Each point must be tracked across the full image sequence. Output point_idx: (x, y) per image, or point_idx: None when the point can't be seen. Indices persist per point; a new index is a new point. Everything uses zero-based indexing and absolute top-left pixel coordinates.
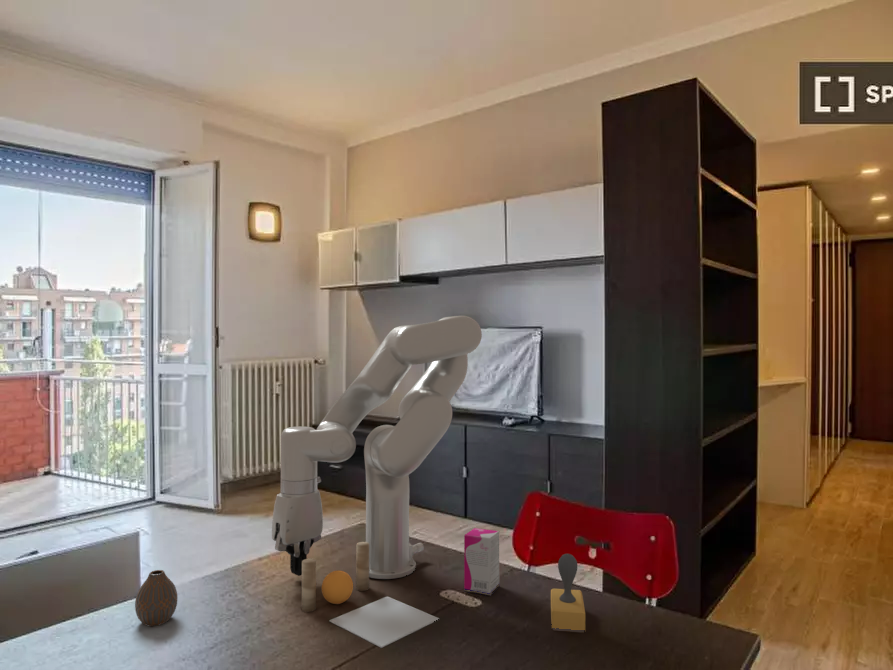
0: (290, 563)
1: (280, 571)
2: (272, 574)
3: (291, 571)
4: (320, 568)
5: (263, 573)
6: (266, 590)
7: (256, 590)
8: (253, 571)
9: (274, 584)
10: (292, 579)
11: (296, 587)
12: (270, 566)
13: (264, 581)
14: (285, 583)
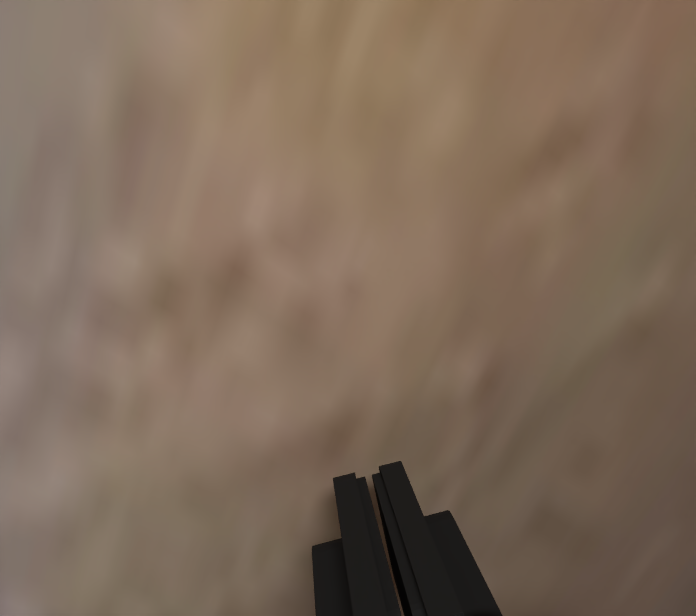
0: (315, 596)
1: (318, 216)
2: (228, 246)
3: (335, 483)
4: (612, 346)
5: (156, 167)
6: (87, 538)
7: (9, 505)
8: (70, 39)
9: (177, 463)
10: (337, 441)
11: (304, 582)
12: (279, 8)
13: (116, 364)
14: (261, 485)
